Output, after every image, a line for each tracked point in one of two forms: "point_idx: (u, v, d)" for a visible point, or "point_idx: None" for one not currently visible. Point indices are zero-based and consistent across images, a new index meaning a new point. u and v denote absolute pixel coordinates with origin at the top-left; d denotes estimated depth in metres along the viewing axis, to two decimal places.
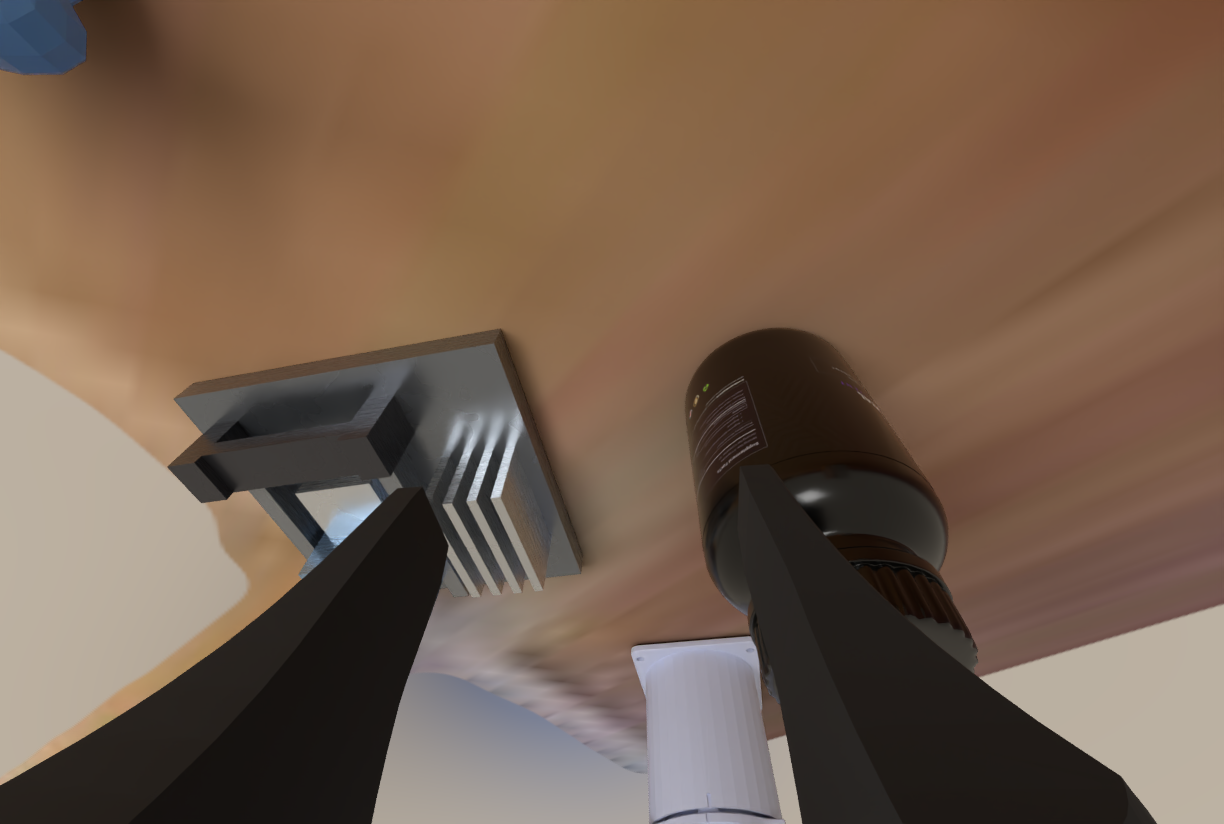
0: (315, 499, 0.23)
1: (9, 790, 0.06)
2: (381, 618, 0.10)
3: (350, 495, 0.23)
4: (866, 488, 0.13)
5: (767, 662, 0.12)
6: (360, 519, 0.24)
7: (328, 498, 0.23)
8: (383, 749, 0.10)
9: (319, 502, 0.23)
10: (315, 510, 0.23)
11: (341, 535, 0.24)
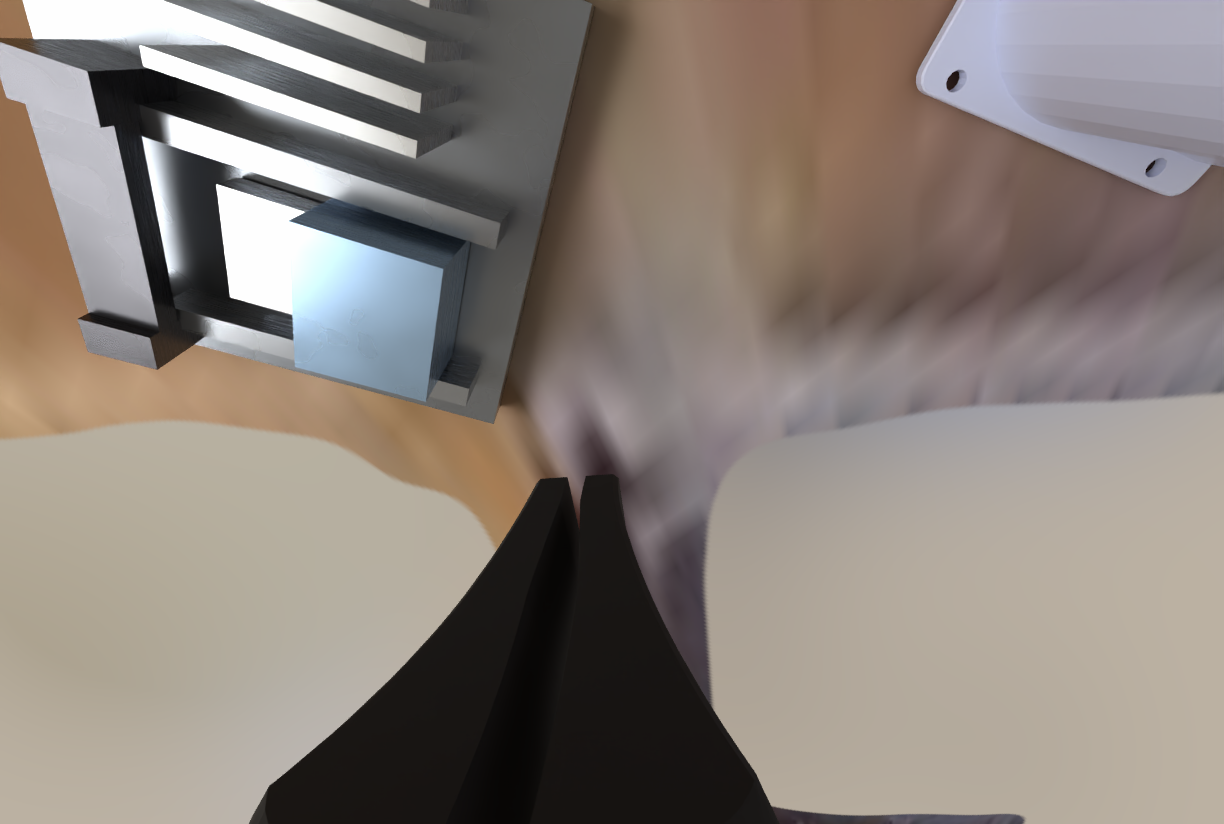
0: (244, 281, 0.16)
1: (286, 787, 0.05)
2: (551, 611, 0.09)
3: (240, 230, 0.15)
4: None
5: None
6: None
7: (243, 263, 0.16)
8: None
9: (250, 280, 0.16)
10: (267, 298, 0.17)
11: None
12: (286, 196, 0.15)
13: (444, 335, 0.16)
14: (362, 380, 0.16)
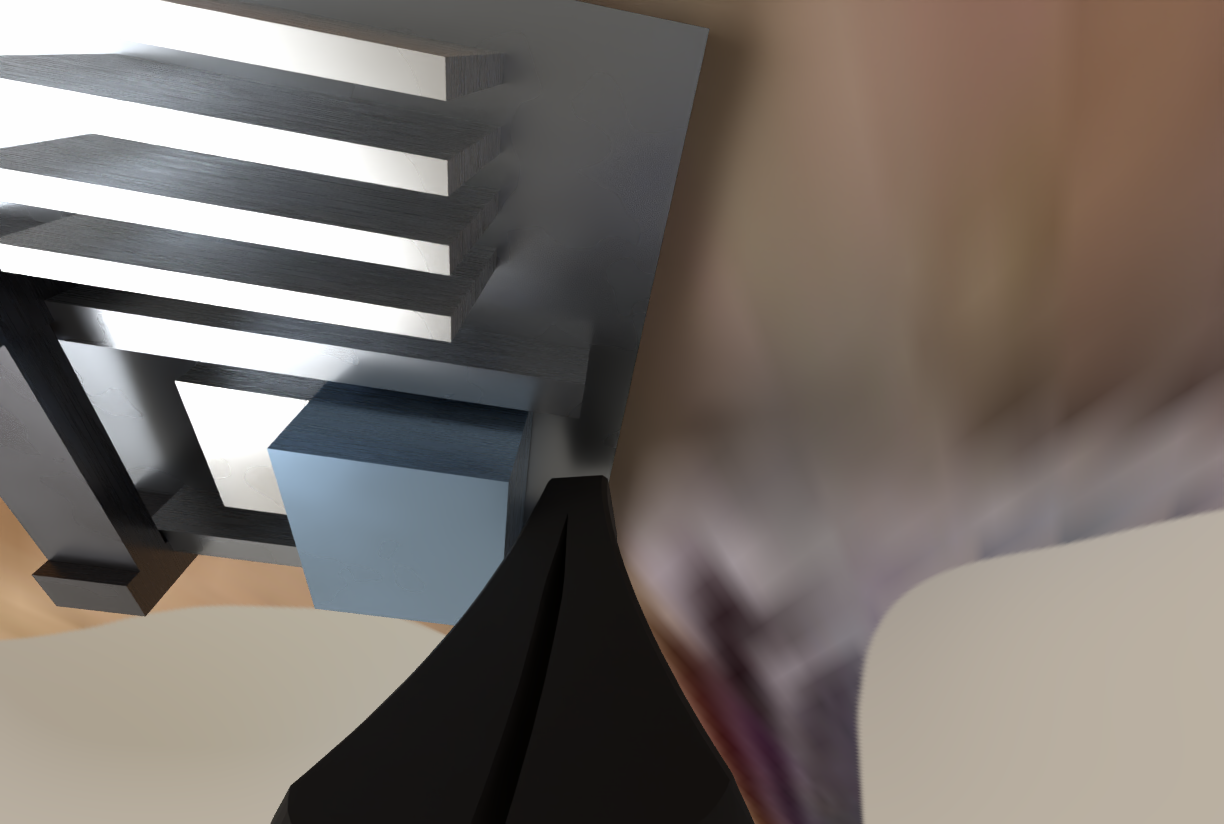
0: (237, 487, 0.12)
1: (308, 786, 0.05)
2: None
3: (219, 430, 0.11)
4: None
5: None
6: None
7: (232, 468, 0.12)
8: None
9: (245, 486, 0.12)
10: (271, 502, 0.12)
11: None
12: (275, 373, 0.11)
13: (514, 532, 0.11)
14: (408, 614, 0.11)
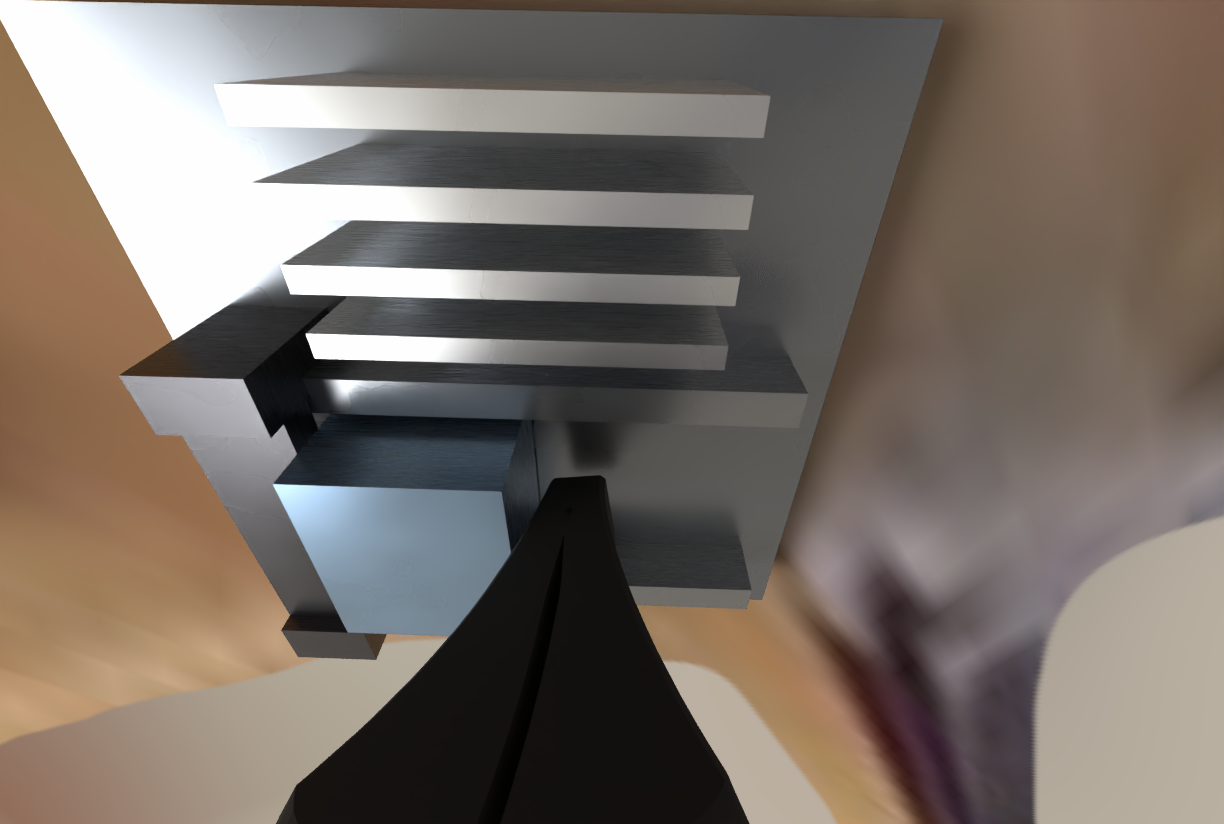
0: None
1: (313, 787, 0.05)
2: None
3: None
4: None
5: None
6: None
7: None
8: None
9: None
10: None
11: None
12: None
13: None
14: (435, 631, 0.11)
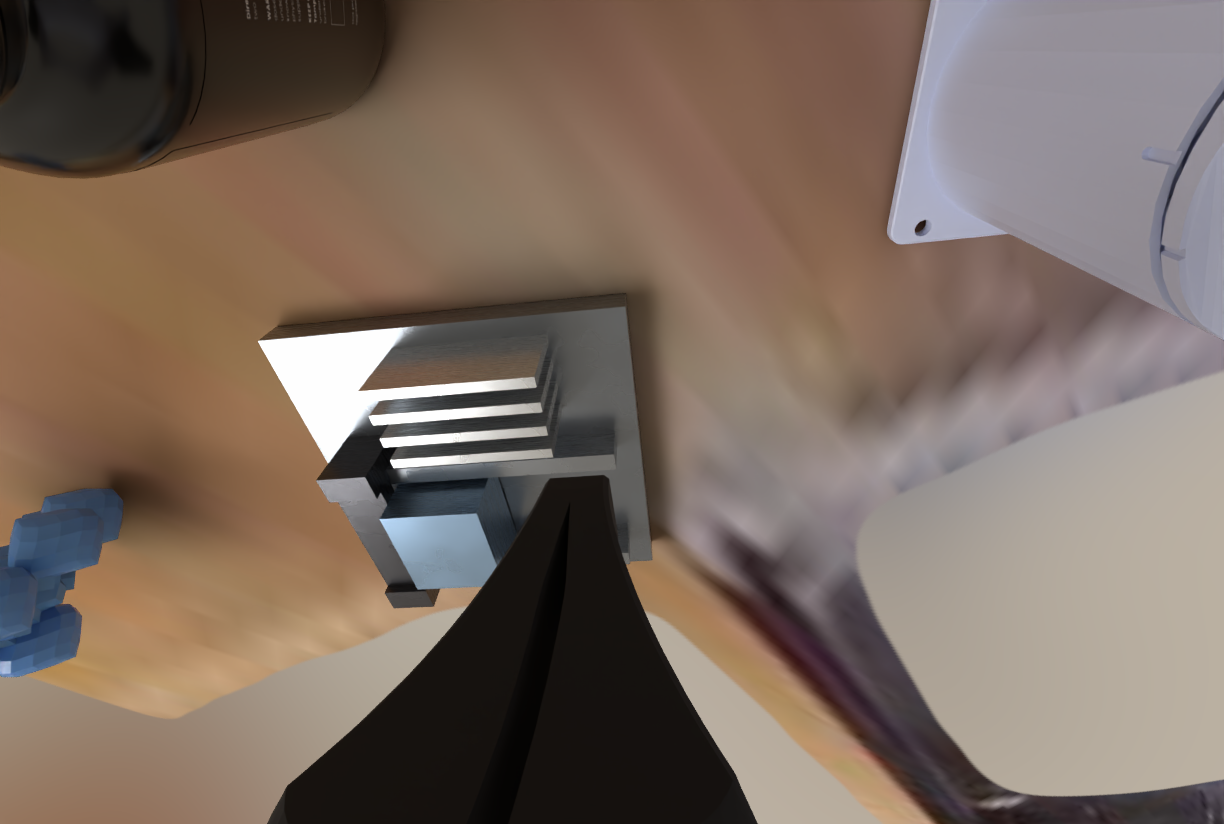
0: None
1: (306, 787, 0.05)
2: None
3: None
4: None
5: None
6: None
7: None
8: None
9: None
10: None
11: None
12: None
13: (500, 535, 0.23)
14: (460, 584, 0.23)
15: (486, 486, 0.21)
